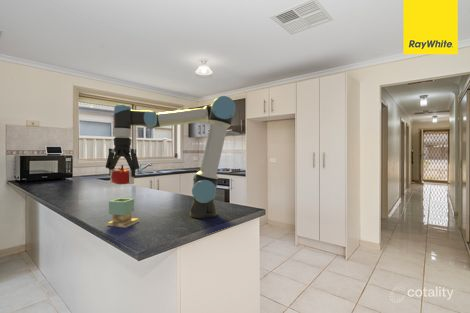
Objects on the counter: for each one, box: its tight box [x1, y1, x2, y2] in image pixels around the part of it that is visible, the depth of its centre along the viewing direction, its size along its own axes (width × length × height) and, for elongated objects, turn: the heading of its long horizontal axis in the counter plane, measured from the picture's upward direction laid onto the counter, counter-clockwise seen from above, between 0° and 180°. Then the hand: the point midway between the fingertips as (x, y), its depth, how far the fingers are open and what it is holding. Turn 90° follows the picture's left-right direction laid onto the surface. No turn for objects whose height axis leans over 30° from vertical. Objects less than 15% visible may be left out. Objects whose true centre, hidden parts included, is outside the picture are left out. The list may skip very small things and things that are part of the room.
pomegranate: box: [111, 164, 130, 185], centre depth 119 cm, size 10×10×9 cm
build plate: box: [107, 212, 140, 228], centre depth 120 cm, size 10×10×6 cm
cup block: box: [108, 197, 135, 215], centre depth 120 cm, size 8×8×6 cm
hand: (122, 183), depth 120 cm, fingers closed on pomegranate, 10 cm apart
